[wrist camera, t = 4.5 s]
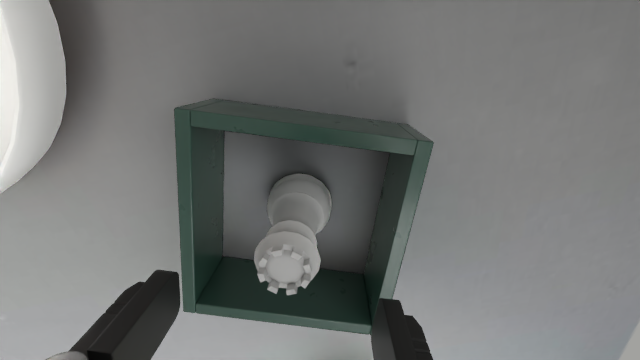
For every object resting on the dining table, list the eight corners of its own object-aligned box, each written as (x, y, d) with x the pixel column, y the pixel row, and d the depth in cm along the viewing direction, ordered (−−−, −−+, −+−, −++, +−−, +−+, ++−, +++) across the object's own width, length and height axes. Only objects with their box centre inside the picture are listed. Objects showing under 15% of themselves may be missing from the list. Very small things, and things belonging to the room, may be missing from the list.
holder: (408, 124, 19) (434, 142, 14) (371, 283, 23) (382, 336, 19) (212, 98, 19) (173, 107, 14) (212, 263, 23) (182, 312, 18)
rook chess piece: (345, 199, 21) (353, 272, 13) (303, 239, 22) (290, 326, 15) (297, 158, 20) (277, 211, 12) (256, 202, 21) (216, 274, 14)
